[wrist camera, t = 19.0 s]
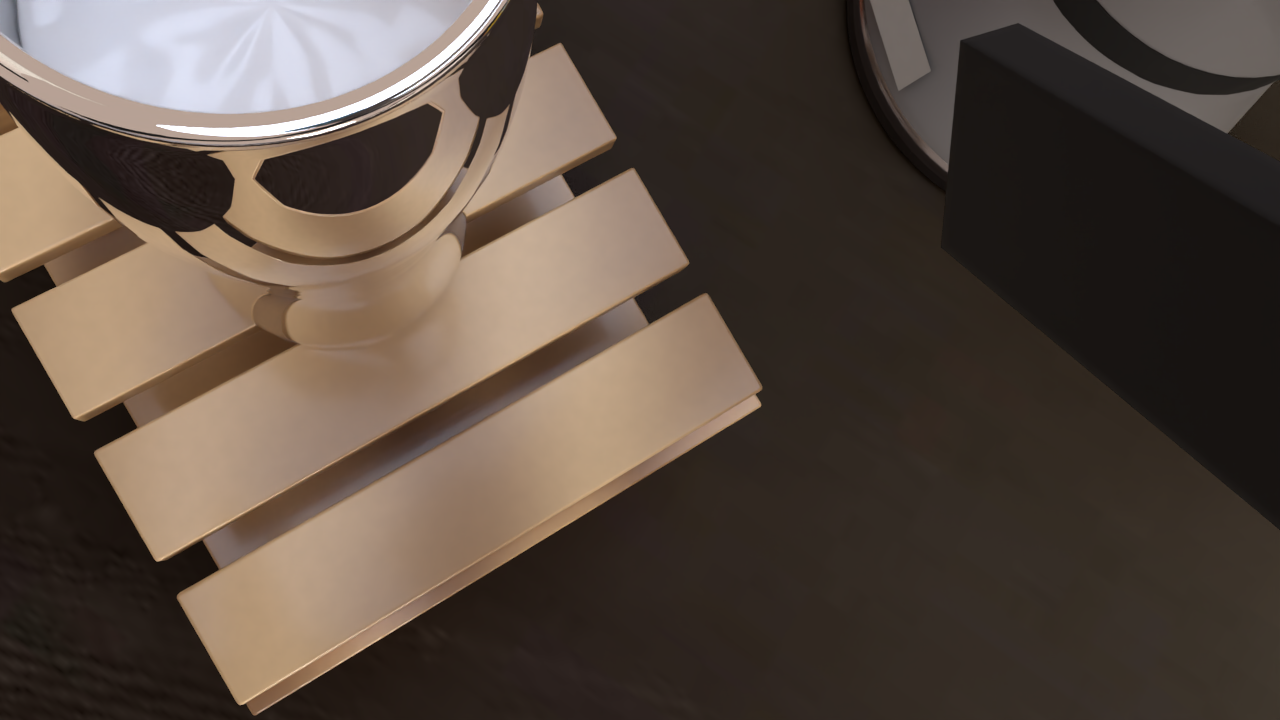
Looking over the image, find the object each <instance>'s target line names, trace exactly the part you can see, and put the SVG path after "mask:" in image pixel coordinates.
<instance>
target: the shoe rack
mask: <svg viewBox="0 0 1280 720" xmlns="http://www.w3.org/2000/svg"><path fill="white" fill-rule="evenodd" d="M542 18H543V11H542V9H541V8H540V6H539V4H538V3H537V15H536V22H535V29H537V28H539V27H540V26H541V22H542ZM535 29H534V30H535ZM616 139H617V138H616V135H615V134H614V132H613V130H612V128H611V127H610V125H609V123H608V122H607V120H606V118H605V116H604V115H603V113H602V111H601V110H600V108H599V106H598V105H597V103H596V101H595V99H594V98H593V96H592V94H591V93H590V91H589V89H588V87H587V86H586V84H585V82H584V81H583V79H582V77H581V76H580V74H579V72H578V70H577V69H576V67H575V65H574V64H573V62H572V60H571V59H570V57H569V55H568V53H567V52H566V50H565V48H564V47H563V45H562V44H561V43H558V44H556V45H554V46H552V47H550V48H548V49H546V50H544V51H542V52H540V53H538V54H535V55H533V56H531V57H530V59H529V64H528V70H527V75H526V79H525V83H524V88H523V91H522V94H521V98H520V101H519V104H518V106H517V109H516V112H515V115H514V118H513V121H512V124H511V127H510V130H509V133H508V136H507V138H506V141H505V143H504V146H503V148H502V150H501V152H500V154H499V157H498V159H497V160H496V162H495V164H494V166H493V168H492V170H491V171H490V173H489V174H488V176H487V178H486V179H485V180H484V182H483V183H482V185H481V186H480V188H479V189H478V191H477V192H476V193H475V195H474V196H473V198H472V199H471V201H470V202H469V204H468V205H467V206H466V216H467V228H466V238H465V244H464V249H463V253H462V256H461V260H460V262H459V265H458V268H457V270H456V272H455V274H454V276H453V278H452V280H451V282H450V284H449V285H448V287H447V288H446V290H445V291H444V293H443V294H442V295H441V297H440V298H439V299H438V300H437V302H436V303H435V304H434V305H433V306H432V307H431V308H430V309H429V310H428V311H427V312H426V313H425V314H424V315H422V316H421V317H420V318H419V319H417V320H416V321H415V322H413V323H412V324H410V325H409V326H407V327H406V328H404V329H402V330H401V331H399V332H397V333H395V334H393V335H390V336H388V337H386V338H383V339H381V340H378V341H374V342H371V343H367V344H363V345H358V346H352V347H342V348H322V347H313V346H307V345H302V344H298V343H294V342H291V341H288V340H285V339H282V338H280V337H277V336H275V335H273V334H271V333H269V332H267V331H265V330H263V329H261V328H259V327H258V326H256V325H254V324H253V323H251V322H250V321H248V320H247V319H245V318H244V317H243V316H241V315H240V314H239V313H238V312H237V311H236V310H234V309H233V308H232V307H231V306H230V305H229V304H228V303H227V301H226V300H225V299H224V298H223V297H222V296H221V294H220V293H219V292H218V290H217V289H216V287H215V286H214V284H213V283H212V281H211V279H210V278H209V276H208V274H207V272H206V271H205V270H202V269H200V268H198V267H196V266H194V265H191V264H189V263H187V262H185V261H183V260H180V259H178V258H176V257H174V256H172V255H169V254H167V253H165V252H163V251H161V250H159V249H157V248H156V247H154V246H152V245H150V244H149V243H147V242H145V241H144V240H142V239H140V238H139V237H137V236H136V235H134V234H133V233H131V232H130V231H129V230H127V229H126V228H125V227H123V226H122V225H121V224H119V223H118V222H117V221H115V220H114V219H113V218H112V217H110V216H109V215H108V214H107V213H106V212H104V211H103V210H102V209H101V208H99V207H98V206H97V205H96V204H94V203H93V202H92V201H91V200H89V199H88V198H87V197H86V196H84V195H83V194H82V193H81V192H80V191H79V190H77V189H76V188H75V187H74V186H73V185H72V184H71V183H70V182H69V181H68V180H67V179H66V178H65V177H64V176H63V175H62V174H61V173H60V172H59V171H58V170H57V169H56V168H55V167H54V166H53V165H52V164H51V163H50V161H49V160H48V159H47V158H46V157H45V156H44V155H43V154H42V153H41V152H40V151H39V149H38V148H37V147H36V146H35V145H34V144H33V143H32V142H31V141H30V140H29V139H28V137H27V136H26V135H25V134H24V133H23V132H22V131H21V130H20V128H19V127H18V126H17V125H16V124H15V123H14V121H13V120H12V119H11V118H10V116H9V115H8V114H7V112H6V111H5V110H4V109H3V107H2V106H1V105H0V280H1V281H2V282H8V281H10V280H12V279H14V278H16V277H18V276H20V275H22V274H25V273H27V272H29V271H31V270H33V269H35V268H37V267H39V266H41V265H43V264H44V266H45V268H46V269H47V271H48V273H49V275H50V276H51V278H52V280H53V282H54V283H55V285H56V287H55V288H53V289H51V290H49V291H47V292H45V293H42V294H40V295H38V296H36V297H34V298H32V299H30V300H28V301H26V302H24V303H22V304H20V305H18V306H16V307H14V308H12V313H13V315H14V316H15V318H16V320H17V322H18V323H19V325H20V327H21V329H22V330H23V332H24V334H25V336H26V337H27V339H28V341H29V343H30V344H31V346H32V348H33V349H34V351H35V353H36V355H37V356H38V358H39V360H40V362H41V363H42V365H43V367H44V369H45V370H46V372H47V374H48V376H49V377H50V379H51V381H52V383H53V384H54V386H55V388H56V390H57V391H58V393H59V395H60V397H61V398H62V400H63V402H64V403H65V405H66V407H67V409H68V410H69V412H70V414H71V416H72V417H73V418H74V419H77V420H80V421H87V420H89V419H91V418H93V417H95V416H97V415H99V414H101V413H103V412H105V411H106V410H108V409H110V408H112V407H114V406H116V405H118V404H120V403H122V402H123V403H124V405H125V407H126V408H127V410H128V412H129V414H130V415H131V417H132V419H133V421H134V422H135V424H136V426H137V429H135V430H133V431H131V432H129V433H127V434H126V435H124V436H122V437H120V438H118V439H116V440H114V441H112V442H110V443H109V444H107V445H105V446H103V447H101V448H99V449H97V450H96V451H95V452H94V455H95V457H96V459H97V460H98V462H99V464H100V466H101V467H102V469H103V471H104V473H105V474H106V476H107V478H108V480H109V481H110V483H111V485H112V487H113V488H114V490H115V492H116V494H117V495H118V497H119V499H120V501H121V502H122V504H123V506H124V508H125V509H126V511H127V513H128V514H129V516H130V518H131V520H132V521H133V523H134V525H135V527H136V528H137V530H138V532H139V534H140V535H141V537H142V539H143V541H144V542H145V544H146V546H147V548H148V549H149V551H150V553H151V555H152V556H153V558H154V560H155V561H157V562H159V561H164V560H168V559H169V558H171V557H173V556H175V555H177V554H178V553H180V552H182V551H184V550H185V549H187V548H189V547H191V546H193V545H194V544H196V543H198V542H200V541H201V540H202V541H203V542H204V544H205V546H206V548H207V549H208V551H209V553H210V555H211V556H212V558H213V560H214V561H215V563H216V565H217V567H218V568H219V570H218V571H217V572H215V573H213V574H211V575H210V576H208V577H206V578H204V579H202V580H201V581H199V582H197V583H195V584H194V585H192V586H190V587H188V588H187V589H185V590H183V591H181V592H180V593H179V594H178V595H177V600H178V601H179V603H180V605H181V607H182V608H183V610H184V612H185V614H186V615H187V617H188V619H189V621H190V622H191V624H192V626H193V627H194V629H195V631H196V633H197V634H198V636H199V638H200V640H201V641H202V643H203V645H204V647H205V648H206V650H207V652H208V654H209V655H210V657H211V659H212V661H213V662H214V664H215V666H216V668H217V669H218V671H219V673H220V675H221V676H222V678H223V680H224V681H225V683H226V685H227V687H228V688H229V690H230V692H231V694H232V695H233V697H234V699H235V701H236V702H237V704H239V705H244V704H245V703H246V704H247V706H248V708H249V709H250V711H251V713H252V714H253V715H257V714H259V713H260V712H262V711H264V710H265V709H267V708H269V707H270V706H272V705H274V704H275V703H277V702H278V701H280V700H282V699H283V698H285V697H287V696H288V695H290V694H292V693H293V692H295V691H296V690H298V689H300V688H301V687H303V686H305V685H306V684H308V683H310V682H311V681H313V680H314V679H316V678H318V677H319V676H321V675H323V674H324V673H326V672H328V671H329V670H331V669H332V668H334V667H336V666H337V665H339V664H341V663H342V662H344V661H346V660H347V659H349V658H350V657H352V656H354V655H355V654H357V653H359V652H360V651H362V650H364V649H365V648H367V647H368V646H370V645H372V644H373V643H375V642H377V641H378V640H380V639H382V638H383V637H385V636H386V635H388V634H390V633H391V632H393V631H395V630H396V629H398V628H400V627H401V626H403V625H404V624H406V623H408V622H409V621H411V620H413V619H414V618H416V617H418V616H419V615H421V614H422V613H424V612H426V611H427V610H429V609H431V608H432V607H434V606H436V605H437V604H439V603H440V602H442V601H444V600H445V599H447V598H449V597H450V596H452V595H454V594H455V593H457V592H458V591H460V590H462V589H463V588H465V587H467V586H468V585H470V584H472V583H473V582H475V581H476V580H478V579H480V578H481V577H483V576H485V575H486V574H488V573H490V572H491V571H493V570H494V569H496V568H498V567H499V566H501V565H503V564H504V563H506V562H508V561H509V560H511V559H512V558H514V557H516V556H517V555H519V554H521V553H522V552H524V551H526V550H527V549H529V548H530V547H532V546H534V545H535V544H537V543H539V542H540V541H542V540H544V539H545V538H547V537H548V536H550V535H552V534H553V533H555V532H557V531H558V530H560V529H562V528H563V527H565V526H566V525H568V524H570V523H571V522H573V521H575V520H576V519H578V518H580V517H581V516H583V515H584V514H586V513H588V512H589V511H591V510H593V509H594V508H596V507H598V506H599V505H601V504H602V503H604V502H606V501H607V500H609V499H611V498H612V497H614V496H616V495H617V494H619V493H620V492H622V491H624V490H625V489H627V488H629V487H630V486H632V485H634V484H635V483H637V482H638V481H640V480H642V479H643V478H645V477H647V476H648V475H650V474H652V473H653V472H655V471H656V470H658V469H660V468H661V467H663V466H665V465H666V464H668V463H670V462H671V461H673V460H674V459H676V458H678V457H679V456H681V455H683V454H684V453H686V452H688V451H689V450H691V449H692V448H694V447H696V446H697V445H699V444H701V443H702V442H704V441H706V440H707V439H709V438H710V437H712V436H714V435H715V434H717V433H719V432H720V431H722V430H724V429H725V428H727V427H728V426H730V425H732V424H733V423H735V422H737V421H738V420H740V419H742V418H743V417H745V416H746V415H748V414H750V413H751V412H753V411H755V410H756V409H758V408H760V407H761V403H760V401H759V399H758V397H757V396H756V393H758V392H759V391H761V390H762V385H761V383H760V382H759V380H758V378H757V376H756V375H755V373H754V371H753V370H752V368H751V366H750V365H749V363H748V361H747V359H746V358H745V356H744V354H743V353H742V351H741V349H740V347H739V346H738V344H737V342H736V341H735V339H734V337H733V336H732V334H731V332H730V330H729V329H728V327H727V325H726V324H725V322H724V320H723V319H722V317H721V315H720V313H719V312H718V310H717V308H716V307H715V305H714V303H713V301H712V300H711V298H710V296H709V295H708V294H707V293H703V294H701V295H700V296H698V297H696V298H694V299H693V300H691V301H689V302H687V303H686V304H684V305H682V306H680V307H679V308H677V309H675V310H673V311H672V312H670V313H668V314H666V315H665V316H663V317H661V318H659V319H658V320H656V321H654V322H652V323H651V324H649V323H648V321H647V319H646V317H645V316H644V314H643V312H642V311H641V309H640V307H639V306H638V304H637V302H636V300H635V299H634V297H636V296H638V295H639V294H641V293H643V292H645V291H646V290H648V289H650V288H652V287H654V286H655V285H657V284H659V283H661V282H663V281H664V280H666V279H668V278H670V277H671V276H673V275H675V274H677V273H679V272H680V271H682V270H683V269H684V268H685V267H686V266H687V265H688V264H689V260H688V259H687V257H686V255H685V253H684V252H683V250H682V248H681V247H680V245H679V243H678V241H677V240H676V238H675V236H674V235H673V233H672V231H671V230H670V228H669V226H668V224H667V223H666V221H665V219H664V218H663V216H662V214H661V213H660V211H659V209H658V207H657V206H656V204H655V202H654V201H653V199H652V197H651V195H650V194H649V192H648V190H647V189H646V187H645V185H644V184H643V182H642V180H641V178H640V177H639V175H638V173H637V172H636V170H635V169H634V168H630V169H628V170H626V171H625V172H623V173H621V174H619V175H617V176H615V177H613V178H611V179H609V180H607V181H606V182H604V183H602V184H600V185H598V186H596V187H594V188H592V189H590V190H589V191H587V192H585V193H583V194H581V195H579V196H577V197H575V196H574V194H573V193H572V191H571V189H570V188H569V186H568V184H567V183H566V181H565V179H564V177H563V176H562V174H563V173H565V172H567V171H569V170H571V169H573V168H575V167H576V166H578V165H580V164H582V163H584V162H586V161H588V160H590V159H592V158H594V157H596V156H598V155H600V154H601V153H603V152H605V151H607V150H609V149H611V148H612V146H613V144H614V142H615V141H616Z"/></svg>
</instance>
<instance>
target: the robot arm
mask: <svg viewBox="0 0 1280 720" xmlns="http://www.w3.org/2000/svg"><path fill="white" fill-rule="evenodd" d="M847 25H848V33H849V41H850V47H851V51H852V56H853V60H854V64H855V67H856V70H857V73H858V76H859V80H860V83H861V85H862V87H863V90H864V92H865V94H866V97H867V99H868V101H869V103H870V105H871V107H872V109H873V111H874V112H875V114H876V116H877V118H878V120H879V121H880V123H881V124H882V126H883V127H884V129H885V130H886V132H887V134H888V135H889V136H890V138H891V139H892V140H893V142H894V143H895V144H896V145H897V147H898V148H899V149H900V150H901V152H902V153H903V154H904V155H905V156H906V157H907V158H908V159H909V160H910V161H911V162H912V163H913V165H914V166H915V167H916V168H918V169H919V170H920V171H921V172H922V173H923V174H924V175H925V176H927V177H928V178H929V179H930V180H931V181H932V182H934V183H935V184H936V185H938V186H939V187H941V188H942V189H943V190H945V191H946V198H945V209H944V220H943V230H942V241H941V248H942V249H944V250H945V251H946V252H947V253H948V254H950V255H951V256H952V257H953V258H954V259H956V260H957V261H958V262H959V263H960V264H962V265H963V266H964V267H965V268H966V269H968V270H969V271H970V272H971V273H972V274H974V275H975V276H976V277H977V278H978V279H980V280H981V281H982V282H983V283H984V284H986V285H987V286H988V287H989V288H990V289H992V290H993V291H994V292H995V293H996V294H998V295H999V296H1000V297H1001V298H1002V299H1004V300H1005V301H1006V302H1007V303H1008V304H1010V305H1011V306H1012V307H1013V308H1014V309H1016V310H1017V311H1018V312H1019V313H1020V314H1022V315H1023V316H1024V317H1025V318H1026V319H1028V320H1029V321H1030V322H1031V323H1032V324H1034V325H1035V326H1036V327H1037V328H1038V329H1040V330H1041V331H1042V332H1043V333H1044V334H1046V335H1047V336H1048V337H1049V338H1050V339H1052V340H1053V341H1054V342H1055V343H1056V344H1058V345H1059V346H1060V347H1061V348H1062V349H1064V350H1065V351H1066V352H1067V353H1068V354H1070V355H1071V356H1072V357H1073V358H1074V359H1075V360H1077V361H1078V362H1079V363H1080V364H1081V365H1083V366H1084V367H1085V368H1086V369H1087V370H1089V371H1090V372H1091V373H1092V374H1093V375H1095V376H1096V377H1097V378H1098V379H1099V380H1101V381H1102V382H1103V383H1104V384H1105V385H1107V386H1108V387H1109V388H1110V389H1111V390H1113V391H1114V392H1115V393H1116V394H1117V395H1119V396H1120V397H1121V398H1122V399H1123V400H1125V401H1126V402H1127V403H1128V404H1129V405H1131V406H1132V407H1133V408H1134V409H1135V410H1137V411H1138V412H1139V413H1140V414H1141V415H1143V416H1144V417H1145V418H1146V419H1147V420H1149V421H1150V422H1151V423H1152V424H1153V425H1155V426H1156V427H1157V428H1158V429H1159V430H1161V431H1162V432H1163V433H1164V434H1165V435H1167V436H1168V437H1169V438H1170V439H1171V440H1173V441H1174V442H1175V443H1176V444H1177V445H1179V446H1180V447H1181V448H1182V449H1183V450H1185V451H1186V452H1187V453H1188V454H1189V455H1191V456H1192V457H1193V458H1194V459H1195V460H1197V461H1198V462H1199V463H1200V464H1201V465H1203V466H1204V467H1205V468H1206V469H1207V470H1209V471H1210V472H1211V473H1212V474H1213V475H1215V476H1216V477H1217V478H1218V479H1219V480H1221V481H1222V482H1223V483H1224V484H1225V485H1227V486H1228V487H1229V488H1230V489H1231V490H1233V491H1234V492H1235V493H1236V494H1237V495H1239V496H1240V497H1241V498H1242V499H1243V500H1245V501H1246V502H1247V503H1248V504H1249V505H1251V506H1252V507H1253V508H1254V509H1255V510H1257V511H1258V512H1259V513H1260V514H1261V515H1263V516H1264V517H1265V518H1266V519H1267V520H1269V521H1270V522H1271V523H1272V524H1273V525H1275V526H1276V527H1277V528H1278V529H1279V530H1280V161H1278V160H1276V159H1274V158H1272V157H1270V156H1268V155H1267V154H1265V153H1263V152H1261V151H1259V150H1257V149H1255V148H1253V147H1252V146H1250V145H1248V144H1246V143H1244V142H1242V141H1240V140H1238V139H1236V138H1235V137H1233V136H1231V135H1229V134H1227V133H1228V132H1229V131H1230V130H1231V129H1232V128H1233V127H1234V126H1235V125H1236V123H1237V122H1238V121H1239V120H1240V119H1241V118H1242V117H1243V116H1244V115H1245V113H1246V112H1247V111H1248V110H1249V109H1250V108H1251V107H1252V106H1253V105H1254V103H1255V102H1256V101H1257V100H1258V99H1259V98H1260V97H1261V96H1262V95H1263V93H1264V92H1265V91H1266V90H1267V89H1268V88H1269V87H1270V86H1271V85H1272V83H1274V82H1276V81H1278V80H1280V0H847Z"/></svg>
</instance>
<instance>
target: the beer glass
mask: <svg viewBox="0 0 1280 720" xmlns="http://www.w3.org/2000/svg"><path fill="white" fill-rule="evenodd" d="M537 3H538V0H0V105H1V106H2V107H3V109H4V110H5V111H6V112H7V114H8V115H9V116H10V118H11V119H12V120H13V121H14V123H15V124H16V125H17V126H18V127H19V128H20V130H21V131H22V132H23V133H24V134H25V135H26V136H27V137H28V139H29V140H30V141H31V142H32V143H33V144H34V145H35V146H36V147H37V148H38V149H39V151H40V152H41V153H42V154H43V155H44V156H45V157H46V158H47V159H48V160H49V161H50V163H51V164H52V165H53V166H54V167H55V168H56V169H57V170H58V171H59V172H60V173H61V174H62V175H63V176H64V177H65V178H66V179H67V180H68V181H69V182H70V183H71V184H72V185H73V186H74V187H75V188H76V189H77V190H79V191H80V192H81V193H82V194H83V195H84V196H86V197H87V198H88V199H89V200H91V201H92V202H93V203H94V204H96V205H97V206H98V207H99V208H101V209H102V210H103V211H104V212H106V213H107V214H108V215H109V216H110V217H112V218H113V219H114V220H115V221H117V222H118V223H119V224H121V225H122V226H123V227H125V228H126V229H127V230H129V231H130V232H131V233H133V234H134V235H136V236H137V237H139V238H140V239H142V240H144V241H145V242H147V243H149V244H150V245H152V246H154V247H156V248H157V249H159V250H161V251H163V252H165V253H167V254H169V255H172V256H174V257H176V258H178V259H180V260H183V261H185V262H187V263H189V264H191V265H194V266H196V267H198V268H200V269H202V270H205V271H206V272H207V274H208V276H209V278H210V279H211V281H212V283H213V284H214V286H215V287H216V289H217V290H218V292H219V293H220V294H221V296H222V297H223V298H224V299H225V300H226V301H227V303H228V304H229V305H230V306H231V307H232V308H233V309H234V310H236V311H237V312H238V313H239V314H240V315H241V316H243V317H244V318H245V319H247V320H248V321H250V322H251V323H253V324H254V325H256V326H258V327H259V328H261V329H263V330H265V331H267V332H269V333H271V334H273V335H275V336H277V337H280V338H282V339H285V340H288V341H291V342H294V343H298V344H302V345H307V346H313V347H322V348H342V347H352V346H358V345H363V344H367V343H371V342H374V341H378V340H381V339H383V338H386V337H388V336H390V335H393V334H395V333H397V332H399V331H401V330H402V329H404V328H406V327H407V326H409V325H410V324H412V323H413V322H415V321H416V320H417V319H419V318H420V317H421V316H422V315H424V314H425V313H426V312H427V311H428V310H429V309H430V308H431V307H432V306H433V305H434V304H435V303H436V302H437V300H438V299H439V298H440V297H441V295H442V294H443V293H444V291H445V290H446V288H447V287H448V285H449V284H450V282H451V280H452V278H453V276H454V274H455V272H456V270H457V268H458V265H459V262H460V260H461V256H462V253H463V249H464V244H465V238H466V228H467V216H466V206H467V205H468V204H469V202H470V201H471V199H472V198H473V196H474V195H475V193H476V192H477V191H478V189H479V188H480V186H481V185H482V183H483V182H484V180H485V179H486V178H487V176H488V174H489V173H490V171H491V170H492V168H493V166H494V164H495V162H496V160H497V159H498V157H499V154H500V152H501V150H502V148H503V146H504V143H505V141H506V138H507V136H508V133H509V130H510V127H511V124H512V121H513V118H514V115H515V112H516V109H517V106H518V104H519V101H520V98H521V94H522V91H523V88H524V83H525V79H526V75H527V70H528V64H529V59H530V53H531V47H532V41H533V35H534V29H535V22H536V15H537Z"/></svg>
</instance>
